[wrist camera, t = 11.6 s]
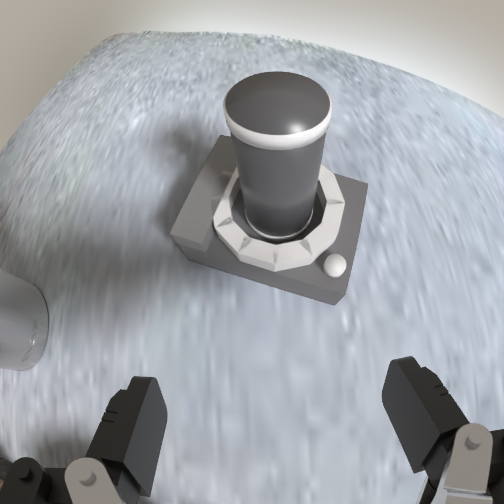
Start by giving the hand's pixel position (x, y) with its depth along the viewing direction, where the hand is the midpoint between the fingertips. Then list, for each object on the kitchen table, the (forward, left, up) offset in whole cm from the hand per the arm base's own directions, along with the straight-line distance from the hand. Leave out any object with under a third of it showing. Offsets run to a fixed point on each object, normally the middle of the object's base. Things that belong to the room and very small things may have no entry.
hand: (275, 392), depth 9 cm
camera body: (-3, +11, -12) cm, 17 cm away
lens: (-3, +11, -8) cm, 14 cm away
